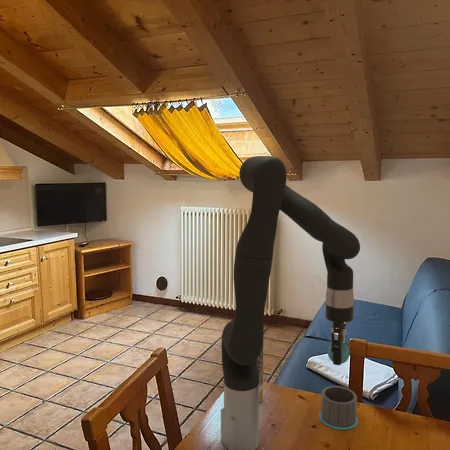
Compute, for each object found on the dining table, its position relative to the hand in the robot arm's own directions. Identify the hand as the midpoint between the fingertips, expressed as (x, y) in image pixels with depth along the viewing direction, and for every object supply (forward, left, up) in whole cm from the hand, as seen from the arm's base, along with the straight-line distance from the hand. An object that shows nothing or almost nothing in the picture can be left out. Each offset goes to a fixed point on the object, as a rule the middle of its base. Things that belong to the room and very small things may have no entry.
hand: (338, 359), depth 122 cm
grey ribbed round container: (0, -1, -18) cm, 18 cm away
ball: (0, 0, +2) cm, 2 cm away
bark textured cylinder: (-16, +20, -18) cm, 32 cm away
